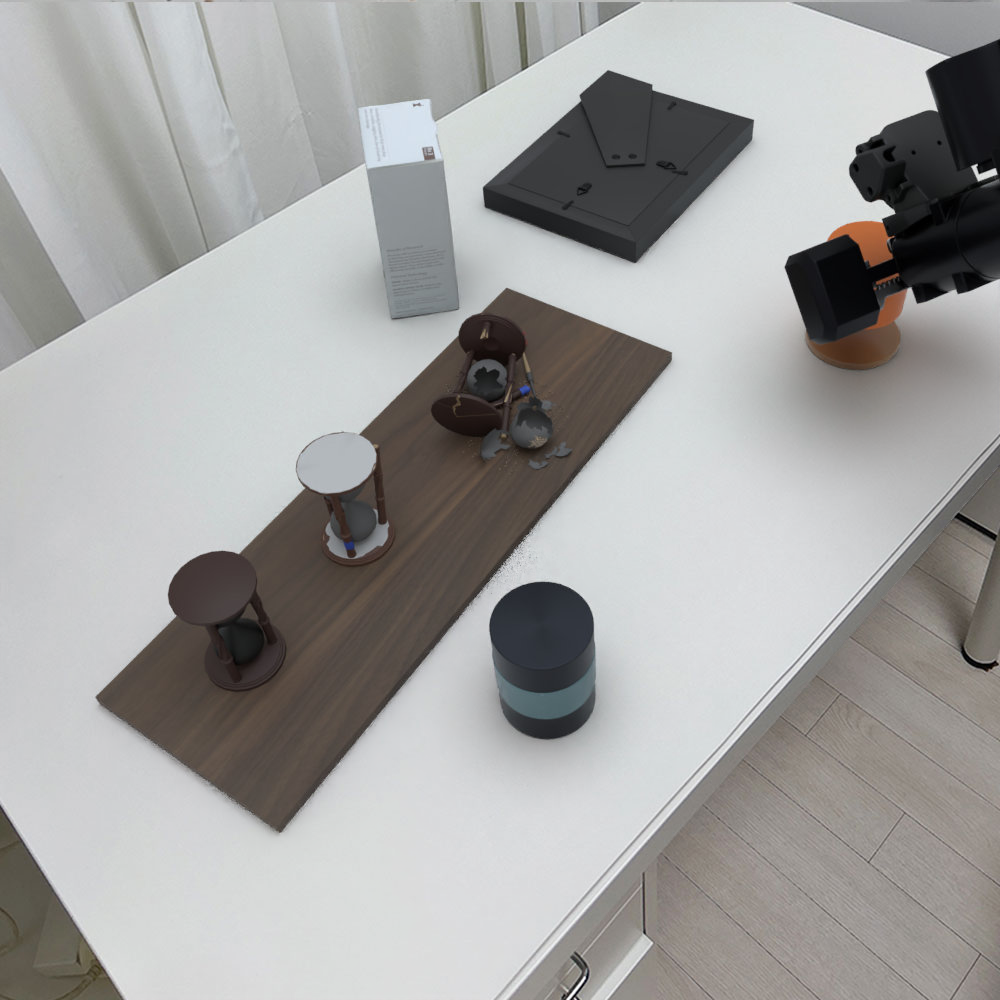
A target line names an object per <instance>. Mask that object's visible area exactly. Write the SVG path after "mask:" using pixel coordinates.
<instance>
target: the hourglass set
mask: <svg viewBox="0 0 1000 1000" xmlns="http://www.w3.org/2000/svg"><path fill="white" fill-rule="evenodd" d="M672 360H673V352H672V351H670V350H667V349H665V348H662V347H659V346H657V345H654V344H652V343H649V342H647V341H644V340H641V339H639V338H636V337H634V336H631V335H628V334H626V333H624V332H621V331H619V330H616V329H613V328H611V327H609V326H606V325H603V324H601V323H598V322H595V321H593V320H590V319H587V318H585V317H583V316H580V315H578V314H575V313H573V312H570V311H568V310H565V309H563V308H560V307H557V306H556V305H555V306H554V305H552V304H549V303H547V302H545V301H542V300H539V299H537V298H535V297H533V296H528V295H527V294H524V293H522V292H519V291H516V290H513V289H511V288H509V287H506V288H504V289H503V290H502V291H501V292H500V293H499V294H498V295H497V296H496V297H495V299H493V300H492V301H491V302H490V303H489V304H488V305H487V306H486V308H484V309H483V310H482V311H481V312H479V313H475V314H472V315H470V316H469V317H467V318H466V319H465V320H464V321H463V322H462V323H461V325H460V326H459V330H458V334H457V336H456V337H455V338H454V339H453V340H452V341H451V342H450V343H449V344H448V345H447V346H446V347H445V348H444V349H443V350H442V351H441V352H440V353H438V355H437V356H436V357H435V358H434V359H433V360H432V361H431V362H430V363H429V364H428V365H427V366H426V367H425V368H424V369H423V370H422V371H421V372H420V373H419V374H418V375H417V376H416V377H415V378H414V379H413V380H412V381H411V382H410V383H409V384H408V385H407V386H406V387H405V388H404V389H403V390H401V392H399V394H398V395H396V397H395V398H394V399H393V400H392V401H391V402H390V403H389V404H387V406H386V407H385V408H384V409H383V410H382V411H381V412H380V413H379V414H377V416H376V417H375V418H373V420H372V421H370V423H369V424H367V426H366V427H365V428H364V429H363V430H362V431H361V432H360V433H359V434H357V433H355V432H347V431H340V432H339V431H338V432H331V433H327V434H325V435H321V436H319V437H318V438H316V439H314V440H312V441H311V442H309V443H308V444H307V445H306V446H305V447H304V448H303V449H302V450H301V452H300V453H299V455H298V457H297V460H296V461H295V472H296V476H297V479H298V481H299V483H300V484H301V485H302V487H303V488H304V489H302V491H300V493H298V494H297V496H295V497H294V498H293V499H292V500H291V502H289V503H288V504H287V506H285V508H284V509H282V510H281V511H280V513H278V514H277V516H275V517H274V518H273V519H272V520H271V521H270V523H269V524H267V525H266V526H265V527H264V528H263V530H261V531H260V532H259V533H258V534H257V535H256V536H255V537H254V538H253V539H252V541H250V542H249V543H248V544H247V545H246V546H245V547H244V548H243V549H242V550H241V551H240V552H238V553H237V552H235V551H228V550H217V551H216V550H215V551H214V550H213V551H212V550H211V551H209V552H205V553H202V554H199V555H197V556H195V557H194V558H191V559H190V560H188V561H187V562H185V564H184V565H182V566H180V568H179V569H178V570H177V572H176V573H175V574H174V575H173V577H172V579H171V581H170V583H169V586H168V591H167V600H168V605H169V606H170V608H171V610H172V613H174V615H175V617H174V618H173V619H172V620H171V621H170V622H169V623H168V624H167V625H166V626H165V627H163V629H162V630H161V631H160V632H159V633H158V634H156V635H155V637H154V638H153V639H152V640H151V641H150V642H149V643H148V644H147V645H146V646H144V648H143V649H142V650H140V652H139V653H138V654H137V655H136V656H135V657H134V658H133V659H132V660H131V661H130V662H129V663H127V664H126V665H125V667H124V668H122V670H121V671H120V672H118V674H117V675H116V676H114V677H113V679H111V681H110V682H109V683H107V684H106V686H105V687H104V688H103V689H102V690H100V692H99V693H97V695H96V696H94V699H96V700H97V702H98V703H99V705H101V706H103V708H105V709H107V710H108V711H109V712H111V713H112V714H114V715H115V716H116V717H117V718H119V719H120V720H122V721H123V722H124V723H126V724H128V726H130V727H132V728H133V729H134V730H136V731H137V732H139V733H140V734H142V736H144V737H145V738H146V739H148V740H150V741H151V742H152V743H154V744H155V745H156V746H158V747H159V748H161V749H162V750H163V751H165V752H167V753H168V754H169V755H171V756H172V757H173V758H175V759H176V760H177V761H179V762H181V764H183V765H184V766H186V767H187V768H189V769H190V770H192V771H193V772H194V773H196V774H197V775H198V776H200V777H202V778H203V779H204V780H206V781H207V782H208V783H210V785H212V786H214V787H215V788H217V789H218V790H219V791H221V792H222V793H224V794H225V795H226V796H227V797H229V798H231V800H233V801H235V802H236V803H237V804H239V805H240V806H242V807H243V808H244V809H246V810H247V811H249V812H250V813H251V814H253V815H254V816H256V817H257V818H258V819H260V820H261V821H262V822H264V823H266V825H268V826H270V827H271V828H272V829H274V830H275V831H277V832H278V833H281V832H282V831H283V830H284V829H285V827H286V826H287V825H288V824H289V823H290V822H291V820H292V819H293V818H294V816H296V814H297V813H298V812H299V811H300V810H301V809H302V807H303V806H304V805H305V804H306V802H307V801H308V800H309V799H310V797H311V796H312V795H313V794H314V793H315V791H316V790H317V789H318V788H319V786H320V785H321V784H322V783H323V782H324V780H325V779H326V778H327V777H328V776H329V775H330V773H331V772H332V771H333V770H334V768H336V766H338V764H339V762H340V761H341V760H342V759H343V758H344V756H345V755H346V754H347V753H348V752H349V750H350V749H351V748H352V747H353V745H354V744H355V743H356V742H357V741H358V740H359V739H360V737H361V736H362V735H363V733H364V732H365V731H366V730H367V729H368V727H369V726H370V725H371V724H372V722H373V721H374V720H375V719H376V718H377V716H379V714H380V713H381V712H382V710H383V709H384V708H385V707H386V706H387V704H388V703H389V702H390V701H391V700H392V698H393V697H394V696H395V695H396V693H398V692H399V690H400V689H401V688H402V686H403V685H404V684H405V683H406V682H407V680H408V679H409V678H410V677H411V675H412V674H413V673H414V672H415V671H416V669H418V668H419V666H420V664H422V662H423V661H424V660H425V659H426V657H427V656H428V655H429V654H430V652H431V651H432V650H433V649H434V647H435V646H437V644H438V643H439V642H440V640H441V639H442V638H443V637H444V636H445V635H446V634H447V632H448V631H449V630H450V628H451V627H452V626H453V625H454V623H455V622H456V621H457V620H458V619H459V618H460V617H461V616H462V614H463V613H464V611H465V610H466V609H467V608H468V606H469V605H470V604H471V603H472V602H473V601H474V599H475V598H476V597H477V596H478V595H479V593H480V592H481V591H482V590H483V588H485V586H486V585H487V584H488V582H489V581H490V580H492V578H493V577H494V575H495V574H496V573H497V572H498V571H499V569H500V568H501V567H502V566H503V564H504V563H505V562H506V561H507V560H508V559H509V557H510V556H511V555H512V553H513V552H514V551H515V550H516V549H517V547H519V545H520V544H521V542H523V540H524V539H525V538H526V536H527V535H529V533H530V532H531V530H532V529H533V528H534V527H535V526H536V525H537V523H538V522H539V521H540V520H541V519H542V517H543V516H544V515H545V514H546V513H547V511H548V510H549V509H550V507H552V505H553V504H554V503H555V502H556V500H557V499H558V498H559V496H560V495H562V493H563V492H564V491H565V490H566V488H567V487H568V486H569V485H570V484H571V482H572V481H573V480H574V479H575V478H576V476H577V475H578V474H579V473H580V472H581V470H582V469H583V467H585V466H586V464H587V463H588V462H589V461H590V459H591V458H592V457H593V456H594V455H595V453H596V452H597V451H598V450H599V448H601V446H602V445H603V444H604V443H605V442H606V440H607V439H608V438H609V437H610V435H611V434H612V433H613V432H614V431H615V429H616V428H617V427H618V426H619V424H620V423H621V422H622V421H623V420H624V418H625V417H626V416H627V415H628V414H629V412H630V411H632V409H633V407H635V405H636V404H637V403H638V401H639V400H640V399H641V398H642V396H643V395H644V394H645V393H646V392H647V390H648V389H649V388H650V387H651V386H652V384H653V383H655V381H656V380H657V379H658V377H660V375H661V373H663V371H664V370H665V369H666V368H667V366H668V365H669V364H670V363H671V362H672Z"/></svg>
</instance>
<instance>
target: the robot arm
mask: <svg viewBox="0 0 1000 1000" xmlns="http://www.w3.org/2000/svg"><path fill="white" fill-rule="evenodd" d="M925 76H926V79H927V83H928V85H929V88H930V92H931V95H932V98H933V100H934V104H935V107H936V110H934V109H926V110H923V111H921V112H918V113H916V114H912V115H910V116H907V117H904V118H902V119H899V120H896V121H893V122H891V123H889V124H887V125H885V126H884V127H883V128H882V130H881V131H880V132H879V133H878V134H876V135H873V136H870V137H869V138H868V140H867V141H864V142H862V143H859V144H857V145H856V146H855V150H854V151H855V157H854V158H853V160H852V161H851V162H850V164H849V166H848V174H849V177H850V179H851V181H852V182H853V184H854V186H855V187H856V189H857V190H858V192H859V194H860V195H861V197H862V199H863V200H864V201H865V202H867V203H874V202H876V201H883V202H884V203H885V204H886V206H888V207H889V208H890V209H892V210H893V212H894V213H893V214H890V215H888V216H885V217H883V218H881V222H882V223H883V224H884V227H885V230H886V233H887V236H888V237H892V236H894V237H892V238H890V239H888V240H887V242H886V244H887V247H888V250H889V252H890V253H891V254H892V256H893V258H891V259H888V260H886V261H883V262H881V263H878V264H876V265H873V266H870V263H869V261H868V260H867V261H864V259H863V256H862V253H861V250H860V247H859V244H858V243H856V242H855V241H854V240H853V239H852V238H850V237H849V234H845V235H842V236H839V237H837V238H834V239H831V240H829V241H827V240H826V241H824V242H821V243H819V244H816V245H814V246H811V247H808V248H806V249H803V250H800V251H799V252H796V253H793V254H791V255H788V257H787V259H786V262H785V264H784V270H785V273H786V276H787V278H788V283H789V285H790V287H791V290H792V292H793V296H794V298H795V301H796V304H797V308H798V310H799V313H800V316H801V319H802V322H803V325H804V327H805V331H807V333H808V336H809V339H810V340H811V341H813V342H815V343H817V344H819V345H821V344H826V343H831V342H835V341H837V340H840V339H842V338H845V337H847V336H849V335H852V334H854V333H856V332H859V331H861V330H864V329H866V328H868V327H871V326H873V325H876V324H877V321H878V317H879V313H880V311H881V310H882V309H883V308H884V305H885V299H886V298H887V297H889V296H891V295H894V294H896V293H899V292H901V291H903V290H906V289H908V290H909V289H911V291H912V294H913V297H914V301H915V303H916V305H919V304H923V303H927V302H930V301H932V300H934V299H937V298H939V297H942V296H944V295H946V294H948V293H951V292H952V291H956V294H957V295H960V294H961V295H962V294H965V293H969V292H972V291H974V290H977V289H980V288H982V287H984V286H987V285H988V284H991V283H993V282H995V281H998V280H1000V38H998V39H996V40H993V41H991V42H989V43H986V44H984V45H982V46H978V47H976V48H973V49H970V50H968V51H964V52H962V53H959V54H955V55H953V56H950V57H948V58H945V59H943V60H941V61H940V62H938V63H936V64H934V65H932V66H931V67H929V68H927V69H926V70H925ZM973 166H976V171H977V175H981V174H982V175H983V174H985V173H987V172H989V171H992V170H995V171H996V174H995V175H991V176H989V177H986V178H984V179H981V180H979V179H978V178H977V175H976V173H975V171H974V169H973ZM897 273H898V274H899V276H897V277H896V279H895V278H892V279H891V280H887V281H886V282H882V283H881V284H876V282H877V281H880V280H882V279H885V278H887V277H890V276H892V275H894V274H897ZM875 288H876V290H874V289H875Z"/></svg>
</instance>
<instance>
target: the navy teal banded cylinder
mask: <svg viewBox="0 0 1000 1000" xmlns="http://www.w3.org/2000/svg"><path fill="white" fill-rule="evenodd" d="M490 614H491V615H490V618H489V624H488V631H489V638H490V645H491V657H492V662H493V668H494V669H493V670H494V675H495V681H496V687H497V689H498V690H497V691H498V696H499V701H500V702H499V703H500V707H501V710H502V713H503V715H504V717H505V718H506V720H507V721H508V723H509V724H510V725H511V726H512V727H513V728H514V729H516V730H517V731H518V732H520V733H521V734H524V735H525V736H528V737H531V738H535V739H540V740H555V739H559V738H563V737H566V736H568V735H571V734H573V733H574V732H576V731H578V730H579V729H580V728H581V727H583V725H584V724H586V723H587V721H588V719H590V717H591V715H592V714H593V711H594V708H595V704H596V681H597V680H596V679H597V662H596V661H597V657H596V642H595V619H594V615H593V611H592V609H591V607H590V605H589V604H588V602H587V600H585V598H584V597H583V596H582V595H581V594H580V593H579V592H577V591H575V590H574V589H573V588H571V587H569V586H567V585H564V584H562V583H558V582H552V581H533V582H527V583H525V584H522V585H519V586H517V587H514V588H513V589H511V590H510V591H508V592H507V593H505V594H504V595H503V596H502V597H501V598H500V599H499V601H497V602H496V604H495V606H494V608H493V610H492V611H491V613H490Z"/></svg>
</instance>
